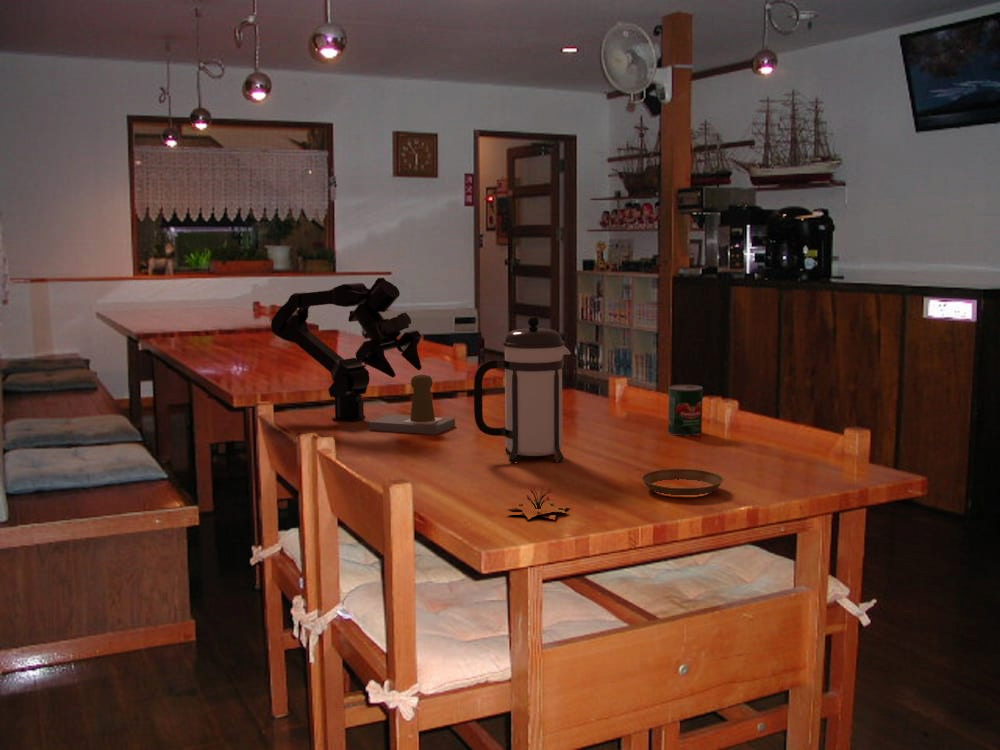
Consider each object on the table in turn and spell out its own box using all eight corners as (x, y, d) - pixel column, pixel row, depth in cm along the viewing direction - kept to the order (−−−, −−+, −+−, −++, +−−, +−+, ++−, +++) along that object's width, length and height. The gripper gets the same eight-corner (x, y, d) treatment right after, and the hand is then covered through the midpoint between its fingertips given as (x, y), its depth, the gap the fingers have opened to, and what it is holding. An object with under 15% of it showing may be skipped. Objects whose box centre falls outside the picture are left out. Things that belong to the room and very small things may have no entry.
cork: (438, 421, 244) (437, 376, 243) (413, 422, 242) (412, 377, 241) (430, 416, 250) (430, 372, 248) (407, 418, 248) (406, 374, 246)
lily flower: (493, 521, 169) (492, 494, 168) (518, 503, 180) (518, 478, 179) (561, 528, 165) (561, 501, 164) (582, 509, 176) (583, 483, 175)
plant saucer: (669, 506, 176) (669, 491, 176) (627, 487, 190) (627, 473, 190) (739, 496, 182) (739, 482, 182) (693, 478, 196) (693, 465, 195)
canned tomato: (687, 437, 233) (688, 390, 231) (661, 432, 239) (661, 387, 237) (708, 433, 238) (709, 387, 236) (682, 428, 244) (682, 383, 242)
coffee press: (529, 446, 225) (528, 312, 221) (583, 457, 214) (583, 316, 210) (472, 458, 213) (470, 317, 209) (526, 471, 202) (526, 321, 198)
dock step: (369, 429, 246) (368, 421, 245) (390, 421, 256) (390, 413, 255) (436, 434, 239) (436, 425, 239) (455, 426, 249) (454, 417, 249)
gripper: (361, 308, 240) (396, 359, 235) (415, 298, 254) (449, 346, 250) (340, 337, 246) (374, 387, 242) (393, 326, 260) (427, 373, 256)
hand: (407, 372), depth 247 cm, fingers open, 9 cm apart
